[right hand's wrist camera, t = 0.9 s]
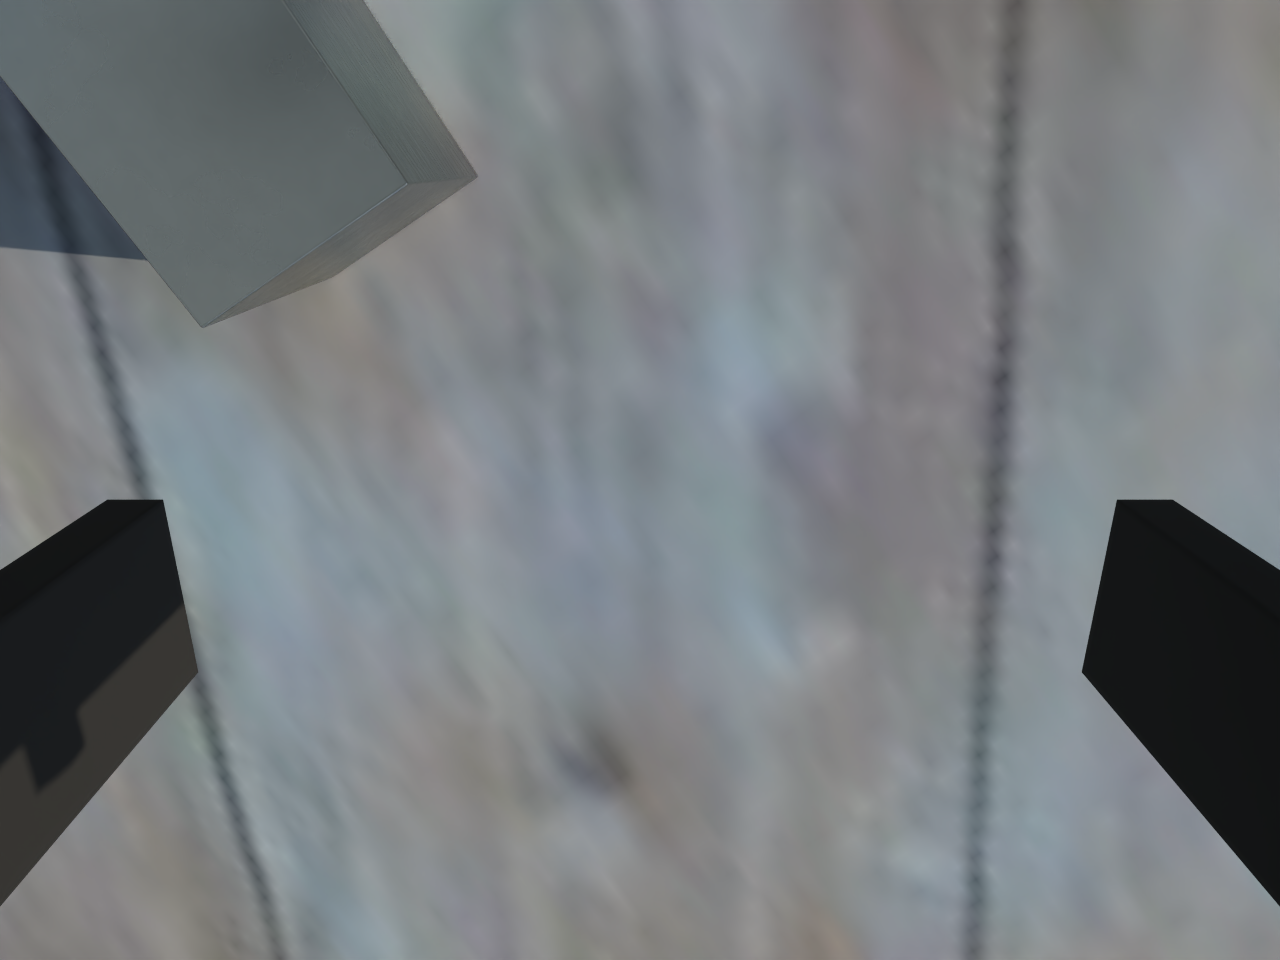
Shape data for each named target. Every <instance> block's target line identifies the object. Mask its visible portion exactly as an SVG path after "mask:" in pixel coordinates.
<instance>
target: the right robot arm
mask: <svg viewBox="0 0 1280 960" xmlns="http://www.w3.org/2000/svg"><path fill="white" fill-rule="evenodd" d="M197 673H198V669H197V664H196V659H195V654H194V649H193V644H192V639H191V635H190V630H189V625H188V620H187V615H186V610H185V605H184V600H183V595H182V590H181V586H180V581H179V576H178V571H177V566H176V561H175V556H174V551H173V546H172V541H171V536H170V532H169V527H168V522H167V517H166V512H165V507H164V502H163V500H106V501H105V502H103V503H102V504H100V505H99V506H97V507H96V508H94V509H92V510H91V511H89V512H88V513H86V514H85V515H83V516H82V517H80V518H79V519H77V520H76V521H74V522H73V523H71V524H70V525H68V526H67V527H65V528H64V529H62V530H61V531H59V532H58V533H56V534H54V535H53V536H51V537H50V538H48V539H47V540H45V541H44V542H42V543H41V544H39V545H38V546H36V547H35V548H33V549H32V550H30V551H29V552H27V553H26V554H24V555H23V556H21V557H19V558H18V559H16V560H15V561H13V562H12V563H10V564H9V565H7V566H6V567H4V568H3V569H1V570H0V906H1V905H2V904H3V902H4V901H5V900H6V899H7V898H8V896H9V895H10V894H11V893H12V892H13V891H14V889H15V888H16V887H17V886H18V885H19V883H20V882H21V881H22V880H23V879H24V878H25V876H26V875H27V874H28V873H29V872H30V870H31V869H32V868H33V867H34V866H35V865H36V863H37V862H38V861H39V860H40V859H41V857H42V856H43V855H44V854H45V853H46V852H47V850H48V849H49V848H50V847H51V846H52V844H53V843H54V842H55V841H56V840H57V839H58V837H59V836H60V835H61V834H62V833H63V831H64V830H65V829H66V828H67V827H68V826H69V824H70V823H71V822H72V821H73V820H74V818H75V817H76V816H77V815H78V814H79V812H80V811H81V810H82V809H83V808H84V807H85V805H86V804H87V803H88V802H89V801H90V799H91V798H92V797H93V796H94V795H95V794H96V792H97V791H98V790H99V789H100V788H101V786H102V785H103V784H104V783H105V782H106V781H107V779H108V778H109V777H110V776H111V775H112V773H113V772H114V771H115V770H116V769H117V768H118V766H119V765H120V764H121V763H122V762H123V760H124V759H125V758H126V757H127V756H128V755H129V753H130V752H131V751H132V750H133V749H134V747H135V746H136V745H137V744H138V743H139V742H140V740H141V739H142V738H143V737H144V736H145V734H146V733H147V732H148V731H149V730H150V729H151V727H152V726H153V725H154V724H155V723H156V721H157V720H158V719H159V718H160V717H161V715H162V714H163V713H164V712H165V711H166V710H167V708H168V707H169V706H170V705H171V704H172V702H173V701H174V700H175V699H176V698H177V697H178V695H179V694H180V693H181V692H182V691H183V689H184V688H185V687H186V686H187V685H188V684H189V682H190V681H191V680H192V679H193V678H194V676H195V675H196V674H197ZM1082 673H1083V674H1084V675H1085V676H1086V678H1087V679H1088V680H1089V681H1090V682H1091V684H1092V685H1093V686H1094V687H1095V688H1096V689H1097V691H1098V692H1099V693H1100V694H1101V695H1102V697H1103V698H1104V699H1105V700H1106V701H1107V702H1108V704H1109V705H1110V706H1111V707H1112V708H1113V710H1114V711H1115V712H1116V713H1117V714H1118V715H1119V717H1120V718H1121V719H1122V720H1123V721H1124V723H1125V724H1126V725H1127V726H1128V727H1129V729H1130V730H1131V731H1132V732H1133V733H1134V734H1135V736H1136V737H1137V738H1138V739H1139V740H1140V742H1141V743H1142V744H1143V745H1144V746H1145V747H1146V749H1147V750H1148V751H1149V752H1150V753H1151V755H1152V756H1153V757H1154V758H1155V759H1156V760H1157V762H1158V763H1159V764H1160V765H1161V766H1162V768H1163V769H1164V770H1165V771H1166V772H1167V773H1168V775H1169V776H1170V777H1171V778H1172V779H1173V781H1174V782H1175V783H1176V784H1177V785H1178V786H1179V788H1180V789H1181V790H1182V791H1183V792H1184V794H1185V795H1186V796H1187V797H1188V798H1189V799H1190V801H1191V802H1192V803H1193V804H1194V805H1195V807H1196V808H1197V809H1198V810H1199V811H1200V812H1201V814H1202V815H1203V816H1204V817H1205V818H1206V820H1207V821H1208V822H1209V823H1210V824H1211V826H1212V827H1213V828H1214V829H1215V830H1216V831H1217V833H1218V834H1219V835H1220V836H1221V837H1222V839H1223V840H1224V841H1225V842H1226V843H1227V844H1228V846H1229V847H1230V848H1231V849H1232V850H1233V852H1234V853H1235V854H1236V855H1237V856H1238V857H1239V859H1240V860H1241V861H1242V862H1243V863H1244V865H1245V866H1246V867H1247V868H1248V869H1249V870H1250V872H1251V873H1252V874H1253V875H1254V876H1255V878H1256V879H1257V880H1258V881H1259V882H1260V883H1261V885H1262V886H1263V887H1264V888H1265V889H1266V891H1267V892H1268V893H1269V894H1270V895H1271V896H1272V898H1273V899H1274V900H1275V901H1276V902H1277V904H1278V905H1279V906H1280V570H1279V569H1277V568H1276V567H1274V566H1273V565H1271V564H1270V563H1268V562H1267V561H1265V560H1264V559H1262V558H1260V557H1259V556H1257V555H1256V554H1254V553H1253V552H1251V551H1250V550H1248V549H1247V548H1245V547H1244V546H1242V545H1241V544H1239V543H1238V542H1236V541H1235V540H1233V539H1232V538H1230V537H1229V536H1227V535H1226V534H1224V533H1222V532H1221V531H1219V530H1218V529H1216V528H1215V527H1213V526H1212V525H1210V524H1209V523H1207V522H1206V521H1204V520H1203V519H1201V518H1200V517H1198V516H1197V515H1195V514H1194V513H1192V512H1191V511H1189V510H1188V509H1186V508H1184V507H1183V506H1181V505H1180V504H1178V503H1177V502H1175V501H1174V500H1117V502H1116V507H1115V512H1114V517H1113V522H1112V527H1111V532H1110V536H1109V541H1108V546H1107V551H1106V556H1105V561H1104V566H1103V571H1102V576H1101V581H1100V585H1099V590H1098V595H1097V600H1096V605H1095V610H1094V615H1093V620H1092V625H1091V630H1090V635H1089V639H1088V644H1087V649H1086V654H1085V659H1084V664H1083V669H1082Z"/></svg>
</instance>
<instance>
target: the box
mask: <svg viewBox="0 0 1280 960" xmlns="http://www.w3.org/2000/svg"><path fill="white" fill-rule="evenodd" d="M0 77H1V78H2V79H3V80H4V82H5V83H6V84H7V85H8V87H9V88H10V89H11V90H12V92H13V93H14V94H15V95H16V97H17V98H18V99H19V100H20V102H21V103H22V104H23V105H24V107H25V108H26V109H27V110H28V112H29V113H30V114H31V115H32V117H33V118H34V119H35V120H36V122H37V123H38V124H39V125H40V127H41V128H42V129H43V130H44V132H45V133H46V134H47V135H48V137H49V138H50V139H51V140H52V142H53V143H54V144H55V145H56V147H57V148H58V149H59V150H60V152H61V153H62V154H63V155H64V157H65V158H66V159H67V160H68V162H69V163H70V164H71V165H72V167H73V168H74V169H75V170H76V172H77V173H78V174H79V175H80V177H81V178H82V179H83V180H84V182H85V183H86V184H87V185H88V187H89V188H90V189H91V190H92V192H93V193H94V194H95V195H96V197H97V198H98V199H99V200H100V202H101V203H102V204H103V205H104V207H105V208H106V209H107V210H108V212H109V213H110V214H111V215H112V217H113V218H114V219H115V220H116V222H117V223H118V224H119V225H120V227H121V228H122V229H123V230H124V232H125V233H126V234H127V235H128V237H129V238H130V239H131V240H132V242H133V243H134V244H135V245H136V246H137V248H138V249H139V250H140V251H141V253H142V254H143V255H144V256H145V258H146V259H147V260H148V261H149V263H150V264H151V265H152V266H153V268H154V269H155V270H156V271H157V273H158V274H159V275H160V276H161V278H162V279H163V280H164V281H165V283H166V284H167V285H168V286H169V288H170V289H171V290H172V291H173V293H174V294H175V295H176V296H177V298H178V299H179V300H180V301H181V303H182V304H183V305H184V306H185V308H186V309H187V310H188V311H189V313H190V314H191V315H192V316H193V318H194V319H195V320H196V321H197V323H198V324H199V325H200V326H201V327H202V328H204V327H207V326H209V325H212V324H214V323H217V322H219V321H222V320H225V319H227V318H230V317H232V316H235V315H237V314H240V313H242V312H245V311H248V310H250V309H253V308H255V307H258V306H260V305H263V304H265V303H268V302H271V301H273V300H276V299H278V298H281V297H283V296H286V295H288V294H291V293H294V292H296V291H299V290H301V289H304V288H306V287H309V286H311V285H314V284H317V283H319V282H322V281H324V280H327V279H329V278H332V277H334V276H335V275H336V274H338V273H339V272H341V271H342V270H344V269H345V268H347V267H348V266H350V265H351V264H352V263H354V262H355V261H357V260H358V259H360V258H361V257H363V256H364V255H365V254H367V253H368V252H370V251H371V250H373V249H374V248H376V247H377V246H379V245H380V244H381V243H383V242H384V241H386V240H387V239H389V238H390V237H392V236H393V235H394V234H396V233H397V232H399V231H400V230H402V229H403V228H405V227H406V226H407V225H409V224H410V223H412V222H413V221H415V220H416V219H418V218H419V217H421V216H422V215H423V214H425V213H426V212H428V211H429V210H431V209H432V208H434V207H435V206H436V205H438V204H439V203H441V202H442V201H444V200H445V199H447V198H448V197H450V196H451V195H452V194H454V193H455V192H457V191H458V190H460V189H461V188H463V187H464V186H465V185H467V184H468V183H470V182H471V181H473V180H474V179H476V178H477V177H478V176H477V174H476V172H475V171H474V169H473V168H472V166H471V165H470V163H469V162H468V160H467V158H466V157H465V155H464V154H463V152H462V151H461V149H460V148H459V146H458V145H457V143H456V142H455V140H454V139H453V137H452V136H451V134H450V132H449V131H448V129H447V128H446V126H445V125H444V123H443V122H442V120H441V119H440V117H439V116H438V114H437V113H436V111H435V110H434V108H433V106H432V105H431V103H430V102H429V100H428V99H427V97H426V96H425V94H424V93H423V91H422V90H421V88H420V87H419V85H418V84H417V82H416V80H415V79H414V77H413V76H412V74H411V73H410V71H409V70H408V68H407V67H406V65H405V64H404V62H403V61H402V59H401V58H400V56H399V54H398V53H397V51H396V50H395V48H394V47H393V45H392V44H391V42H390V41H389V39H388V38H387V36H386V35H385V33H384V32H383V30H382V28H381V27H380V25H379V24H378V22H377V21H376V19H375V18H374V16H373V15H372V13H371V12H370V10H369V9H368V7H367V5H366V4H365V2H364V1H363V0H0Z"/></svg>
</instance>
